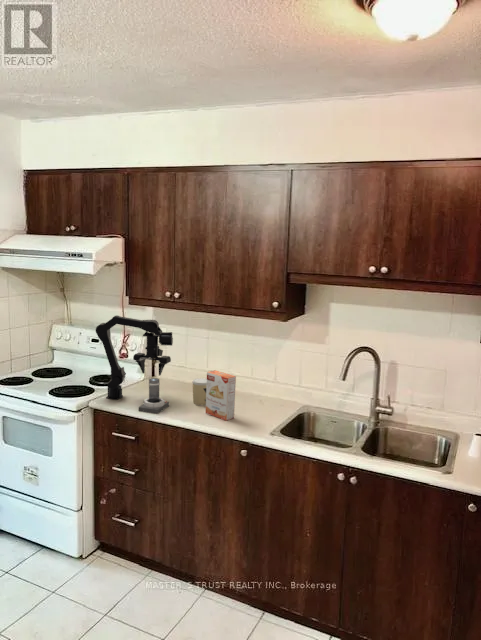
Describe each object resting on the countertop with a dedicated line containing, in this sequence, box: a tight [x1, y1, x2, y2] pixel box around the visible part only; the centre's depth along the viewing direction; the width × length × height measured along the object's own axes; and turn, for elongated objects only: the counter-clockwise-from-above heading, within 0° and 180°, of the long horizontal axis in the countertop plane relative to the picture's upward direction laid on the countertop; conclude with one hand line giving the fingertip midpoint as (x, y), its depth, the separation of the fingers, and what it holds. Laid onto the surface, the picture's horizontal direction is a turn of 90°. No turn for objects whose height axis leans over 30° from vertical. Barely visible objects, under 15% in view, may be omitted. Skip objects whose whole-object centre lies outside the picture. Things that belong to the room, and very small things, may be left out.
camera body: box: [138, 397, 170, 415], centre depth 254 cm, size 10×13×4 cm
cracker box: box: [205, 369, 237, 421], centre depth 246 cm, size 14×6×21 cm, turn 49°
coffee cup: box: [192, 377, 207, 407], centre depth 264 cm, size 9×9×12 cm
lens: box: [148, 377, 160, 403], centre depth 253 cm, size 5×5×13 cm
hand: (151, 374), depth 267 cm, fingers open, 9 cm apart
